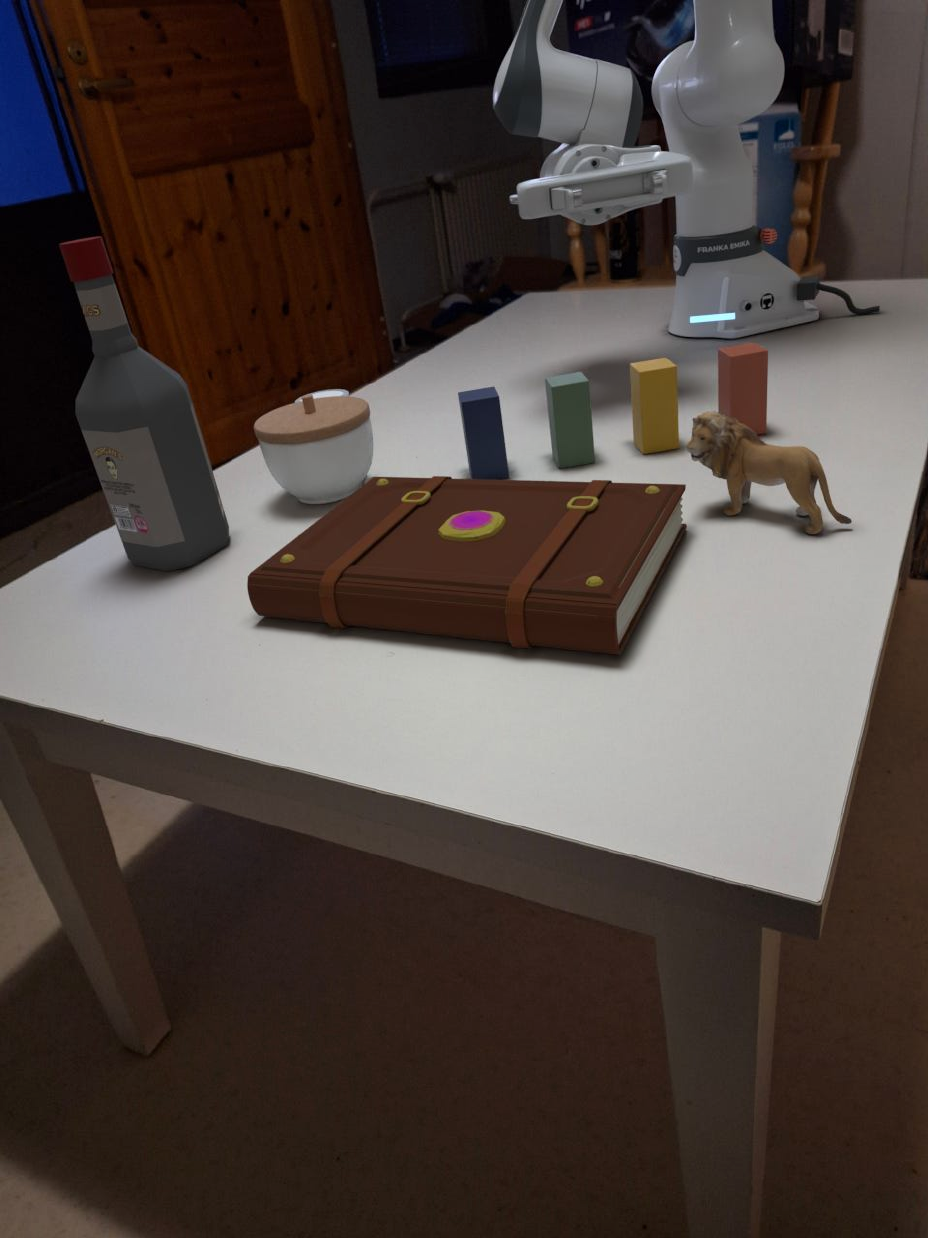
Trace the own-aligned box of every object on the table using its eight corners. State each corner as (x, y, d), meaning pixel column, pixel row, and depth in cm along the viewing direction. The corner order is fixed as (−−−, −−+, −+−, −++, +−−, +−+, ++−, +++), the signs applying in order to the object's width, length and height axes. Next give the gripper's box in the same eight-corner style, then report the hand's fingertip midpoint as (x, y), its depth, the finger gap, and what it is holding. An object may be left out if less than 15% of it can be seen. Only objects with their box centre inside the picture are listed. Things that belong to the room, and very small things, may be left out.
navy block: (504, 465, 101) (494, 386, 96) (509, 477, 97) (499, 395, 93) (469, 471, 101) (457, 392, 96) (473, 483, 97) (461, 402, 93)
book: (382, 514, 93) (373, 468, 91) (687, 527, 80) (686, 475, 78) (254, 624, 76) (239, 571, 74) (616, 665, 63) (612, 602, 60)
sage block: (587, 450, 101) (581, 371, 97) (595, 462, 98) (589, 380, 93) (552, 456, 101) (544, 377, 97) (559, 468, 97) (551, 386, 93)
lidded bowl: (401, 470, 104) (383, 375, 99) (355, 514, 94) (333, 412, 89) (306, 471, 109) (284, 381, 103) (253, 514, 99) (225, 417, 93)
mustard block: (668, 437, 101) (665, 357, 97) (679, 448, 98) (677, 365, 93) (633, 443, 101) (629, 363, 97) (643, 454, 98) (639, 372, 93)
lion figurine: (678, 514, 83) (676, 419, 79) (705, 492, 86) (704, 401, 82) (839, 540, 74) (846, 435, 70) (863, 516, 77) (871, 414, 73)
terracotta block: (752, 422, 101) (754, 341, 97) (766, 433, 98) (768, 350, 93) (718, 428, 101) (717, 348, 97) (730, 439, 98) (730, 356, 93)
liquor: (179, 576, 87) (68, 247, 72) (118, 564, 92) (3, 253, 77) (244, 536, 93) (155, 227, 79) (185, 527, 98) (90, 234, 84)
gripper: (503, 170, 108) (521, 175, 96) (670, 142, 108) (708, 144, 96) (509, 226, 111) (527, 238, 99) (671, 199, 112) (708, 208, 99)
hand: (618, 191), depth 98 cm, fingers open, 8 cm apart
